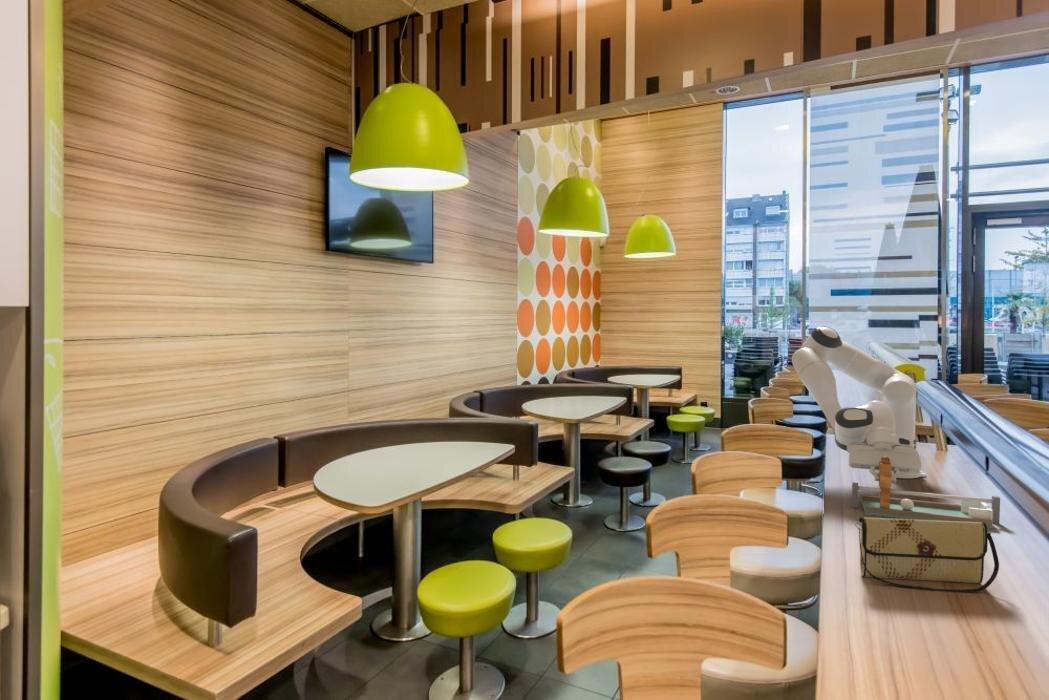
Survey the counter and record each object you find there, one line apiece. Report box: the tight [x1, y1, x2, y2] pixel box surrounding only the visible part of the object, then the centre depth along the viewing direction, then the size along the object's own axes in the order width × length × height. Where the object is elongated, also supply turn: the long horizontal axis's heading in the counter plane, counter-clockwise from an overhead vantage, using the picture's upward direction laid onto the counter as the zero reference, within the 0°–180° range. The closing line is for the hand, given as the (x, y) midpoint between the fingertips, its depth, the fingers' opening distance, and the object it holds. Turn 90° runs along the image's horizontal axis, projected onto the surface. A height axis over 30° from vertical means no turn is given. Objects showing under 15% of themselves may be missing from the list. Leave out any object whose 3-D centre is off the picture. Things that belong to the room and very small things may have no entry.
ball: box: [900, 498, 914, 510], centre depth 182 cm, size 4×4×4 cm
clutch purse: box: [854, 516, 1000, 593], centre depth 136 cm, size 30×7×15 cm, turn 80°
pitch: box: [851, 481, 1001, 530], centre depth 181 cm, size 13×38×8 cm, turn 65°
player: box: [878, 456, 892, 508], centre depth 185 cm, size 4×3×16 cm
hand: (885, 481), depth 184 cm, fingers closed on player, 3 cm apart
